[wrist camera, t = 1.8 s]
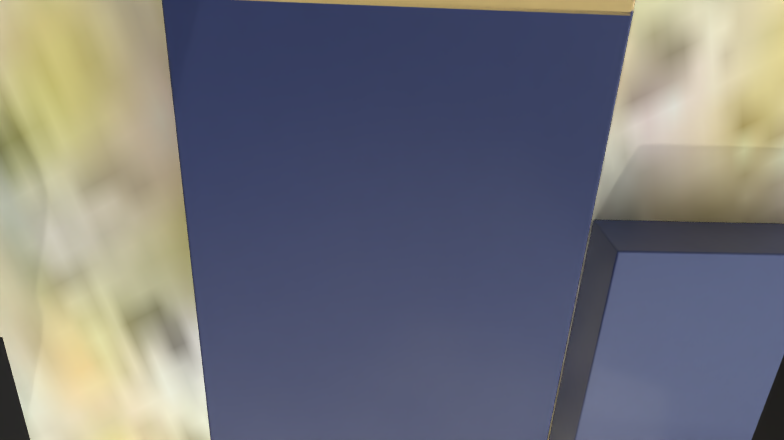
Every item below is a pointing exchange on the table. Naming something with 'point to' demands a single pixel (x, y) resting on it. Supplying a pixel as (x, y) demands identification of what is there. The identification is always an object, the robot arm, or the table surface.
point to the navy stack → (673, 332)
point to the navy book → (389, 207)
